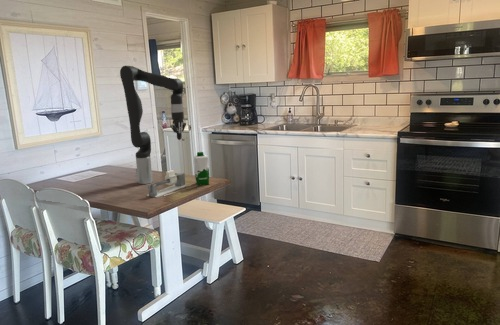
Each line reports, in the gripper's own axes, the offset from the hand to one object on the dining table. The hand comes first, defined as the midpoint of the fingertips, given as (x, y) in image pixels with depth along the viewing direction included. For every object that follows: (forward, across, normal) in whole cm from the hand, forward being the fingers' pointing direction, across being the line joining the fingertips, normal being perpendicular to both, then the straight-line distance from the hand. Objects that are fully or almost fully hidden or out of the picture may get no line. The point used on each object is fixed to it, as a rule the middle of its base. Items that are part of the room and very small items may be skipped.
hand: (179, 138), depth 246 cm
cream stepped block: (+25, +14, +3) cm, 29 cm away
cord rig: (+29, +18, +3) cm, 34 cm away
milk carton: (+29, -4, +13) cm, 32 cm away
